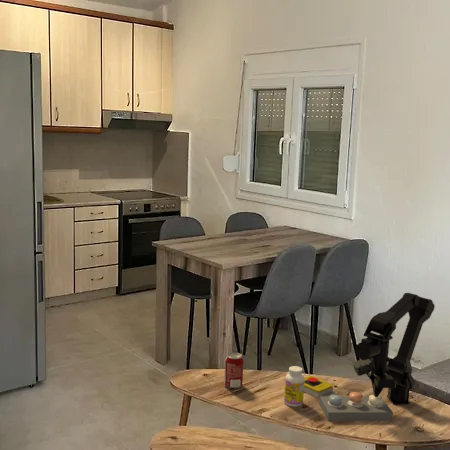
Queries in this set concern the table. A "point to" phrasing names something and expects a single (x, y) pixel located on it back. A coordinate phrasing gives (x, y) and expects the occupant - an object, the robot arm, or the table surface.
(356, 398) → the terracotta button
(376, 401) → the cream button
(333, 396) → the slate button
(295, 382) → the supplement bottle
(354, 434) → the table surface
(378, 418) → the console
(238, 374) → the soda can
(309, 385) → the emergency button
